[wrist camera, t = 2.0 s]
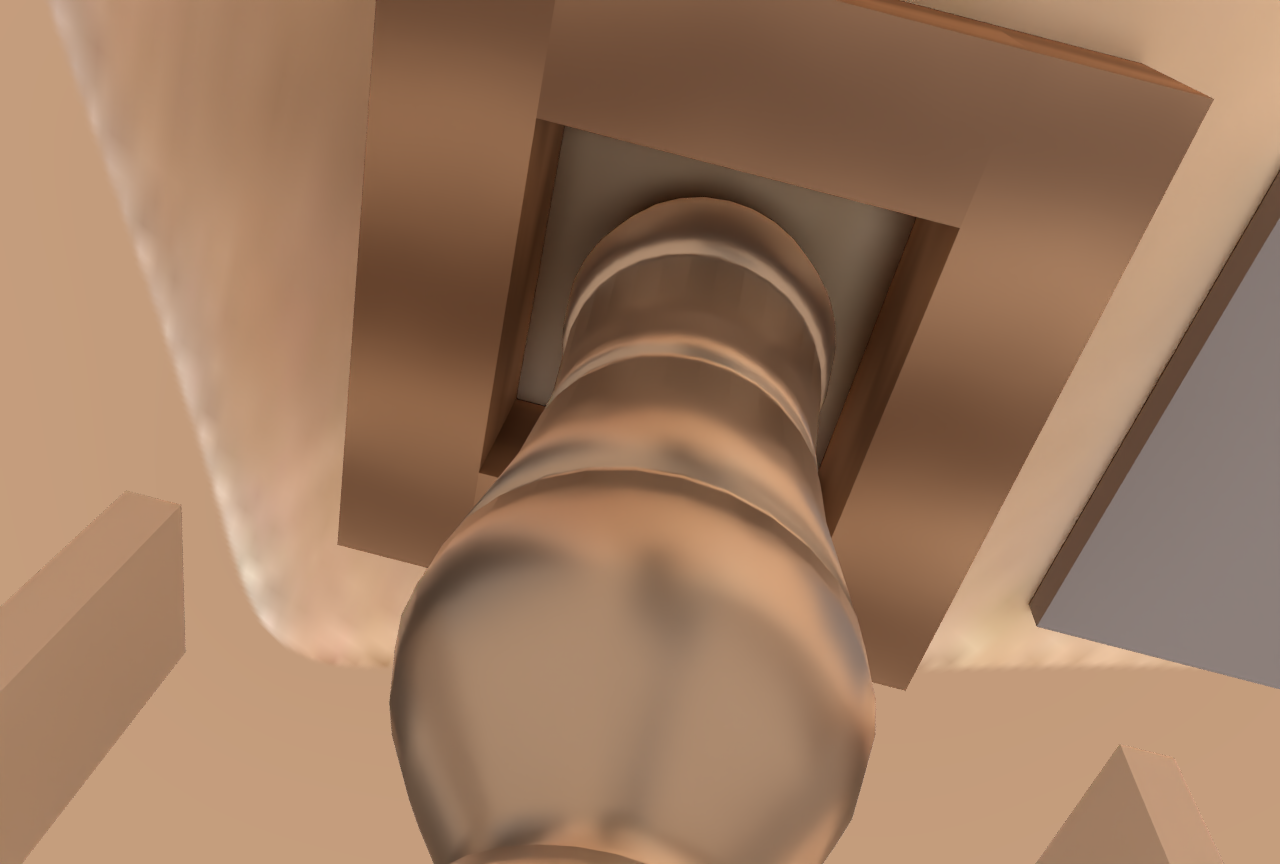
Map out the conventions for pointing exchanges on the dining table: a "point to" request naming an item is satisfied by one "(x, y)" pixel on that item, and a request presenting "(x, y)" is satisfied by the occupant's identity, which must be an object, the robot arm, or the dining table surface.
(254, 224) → the dining table surface
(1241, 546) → the charcoal mat
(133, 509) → the robot arm
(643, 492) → the plastic bottle
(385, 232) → the walnut block
